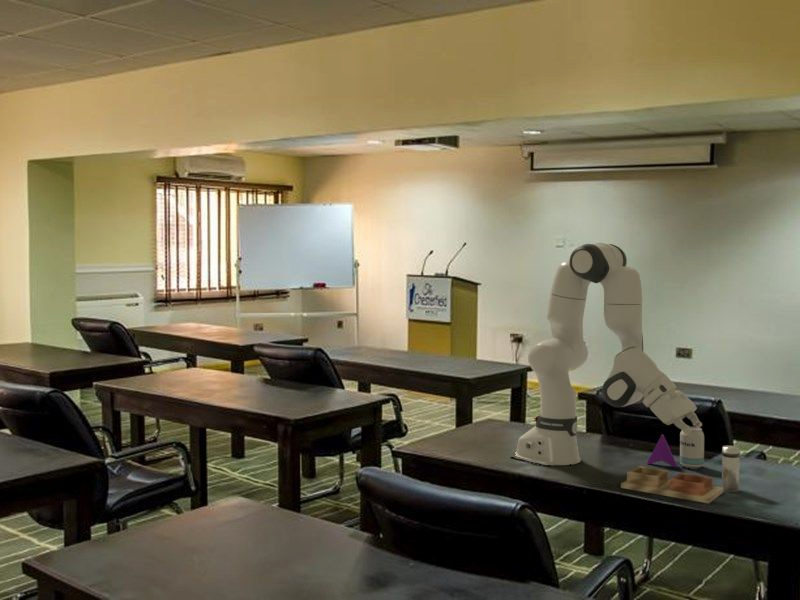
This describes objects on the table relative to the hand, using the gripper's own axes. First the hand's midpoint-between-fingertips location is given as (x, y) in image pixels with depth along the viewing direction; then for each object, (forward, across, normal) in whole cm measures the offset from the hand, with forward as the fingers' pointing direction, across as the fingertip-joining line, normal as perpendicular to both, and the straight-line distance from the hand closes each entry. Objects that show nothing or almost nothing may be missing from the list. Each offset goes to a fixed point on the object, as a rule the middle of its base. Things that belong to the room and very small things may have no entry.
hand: (694, 429), depth 225 cm
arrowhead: (+1, -16, -22) cm, 27 cm away
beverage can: (+6, -19, -16) cm, 26 cm away
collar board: (+9, +9, -13) cm, 19 cm away
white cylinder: (+18, 0, -4) cm, 19 cm away
